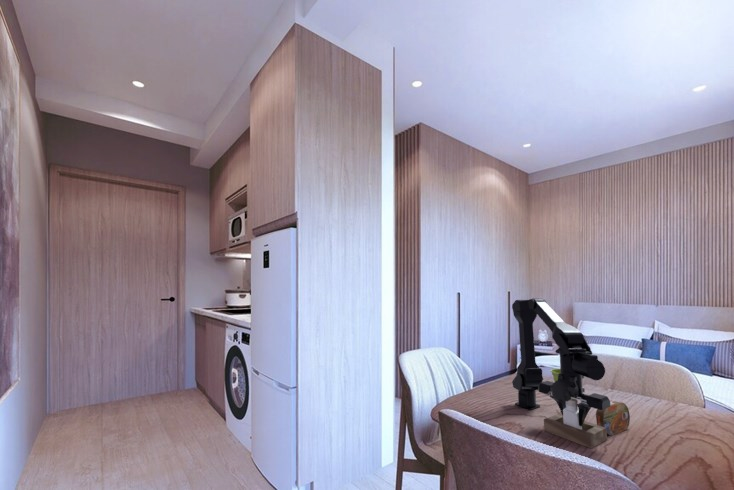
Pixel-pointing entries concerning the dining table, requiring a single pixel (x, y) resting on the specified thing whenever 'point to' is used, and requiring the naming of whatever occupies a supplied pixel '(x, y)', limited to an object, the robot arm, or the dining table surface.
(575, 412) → the pepper shaker
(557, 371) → the plant pot
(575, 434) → the guide block
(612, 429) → the tin
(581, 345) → the robot arm
